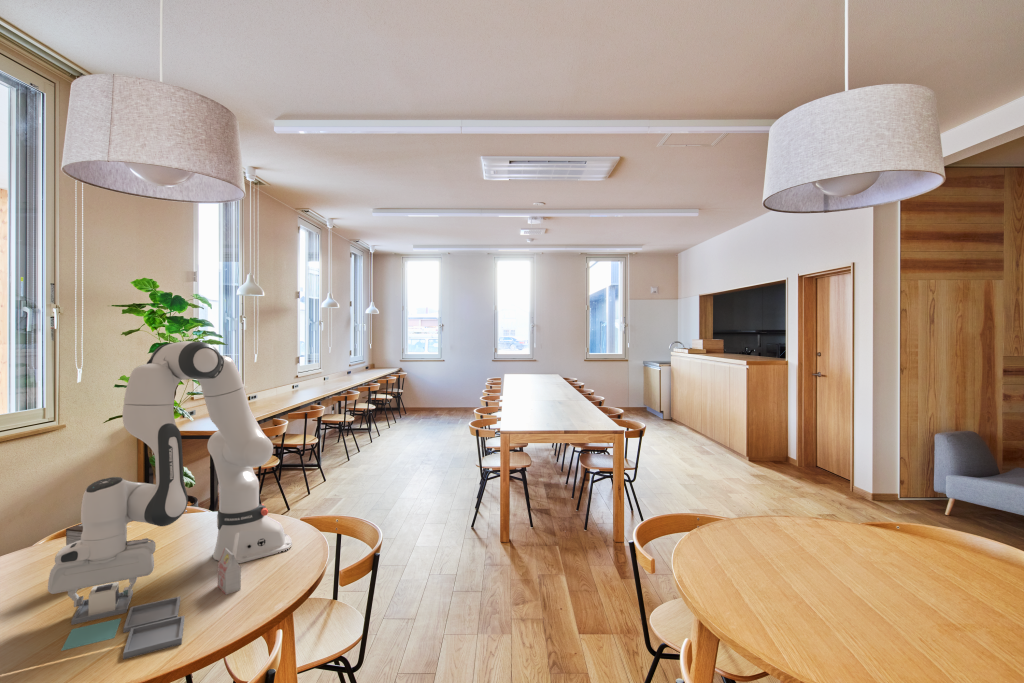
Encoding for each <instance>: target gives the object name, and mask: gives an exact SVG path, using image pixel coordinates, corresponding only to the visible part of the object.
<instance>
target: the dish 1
mask: <svg viewBox="0 0 1024 683" xmlns="http://www.w3.org/2000/svg"><path fill="white" fill-rule="evenodd" d="M133 594H134V589H132V593H131V596H126V597H123V595H124V593H123V591H122V592H121V591H120V592H119V601H118V604H117V606H116V609H115V610H112V611H107V612H103V613H98V614H94V615H89V616H88V611H89V598H88V599H83V604H82V606H78V607H77V609H76V612H75V613H74V615H73V616H72V618H71V623H70V624H71V626H73V625H76V624H82V623H86V622H91V621H95V620H99V619H104V618H108V617H114V616H117V615H122V614H126V613H127V612H128V610H129V606H130V603H131V600H132V597H133Z"/></svg>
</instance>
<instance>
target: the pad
mask: <svg viewBox="0 0 1024 683" xmlns="http://www.w3.org/2000/svg"><path fill="white" fill-rule="evenodd" d="M121 620H122V617H121V618H120V617H119V618H116V619H112V620H107V621H102V622H98V623H94V624H89V625H84V626H81V627H77V628H72V629H71V631H70V632H69V634H68V636H67V638H66V640H65V642H64V643H63V645H62V648H61V649H60V651H61V652H62V651H68V650H70V649H75V648H78V647H83V646H87V645H91V644H92V645H93V644H95V643H96V644H97V643H99V642H103V641H109V640H112V639H115V638H116V634H117V631H118V629H119V626H120V624H121Z"/></svg>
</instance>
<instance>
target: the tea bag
mask: <svg viewBox="0 0 1024 683" xmlns="http://www.w3.org/2000/svg"><path fill="white" fill-rule="evenodd" d="M241 573H242V568H241V566H240V563H237V561H236V559H235V557H234V555H233V554H232V553H231V552H230V551H229V550H228V549H227V548H224V551H223V554H222V556H221V559H220V561H218V563H217V587H218V588H219V589H220V591H222V593H223V594H224V595H225V596H227V595H229V594H232V593H235V592H238V591H241V590H242V589H241V586H242V585H241V582H242V581H241V580H242V578H241V577H242V575H241Z"/></svg>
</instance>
